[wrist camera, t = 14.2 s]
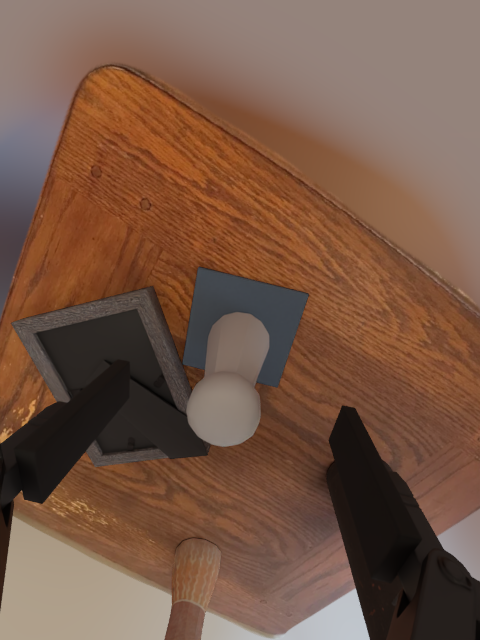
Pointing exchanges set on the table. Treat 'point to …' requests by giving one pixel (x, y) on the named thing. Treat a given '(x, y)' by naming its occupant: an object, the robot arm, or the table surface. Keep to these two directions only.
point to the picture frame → (145, 373)
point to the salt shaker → (229, 381)
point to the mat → (246, 297)
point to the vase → (192, 587)
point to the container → (363, 565)
